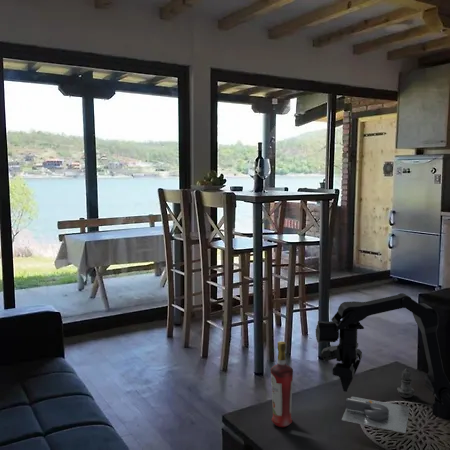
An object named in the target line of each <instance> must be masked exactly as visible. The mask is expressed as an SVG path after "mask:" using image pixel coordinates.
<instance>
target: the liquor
mask: <svg viewBox="0 0 450 450" xmlns="http://www.w3.org/2000/svg"><path fill="white" fill-rule="evenodd" d="M286 344H287V342H285V341H283V340H282V341H281V340H280V341H277V351H278V352H277V361H276V364H274V365H273V366H272V367H270V383H271V385H270V387H271V400H272V401H271V402H272V417H271V422H272V423H273V424H274V425H275V426H276V427H277V428H287V427H289V425H290V424H292V423H293V418H292V399H293V397H292V396H293V380H294V375H293V374H294V369H293V368H292V367H291V366H290V365H288V364H287V360H286V347H287V345H286Z"/></svg>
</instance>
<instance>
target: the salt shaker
mask: <svg viewBox="0 0 450 450" xmlns="http://www.w3.org/2000/svg"><path fill="white" fill-rule="evenodd" d="M400 381H401V385H400V386H398V387H397V391H398V394H399V396H400V397H402V398H406V399H410V398H412V397H413V395H414V393H415V389H414V388H413V387H411V382H412V379H411V371H410V370H409V369H408V368H407V367H406V368H405V369H403V370H402V371H401V378H400Z"/></svg>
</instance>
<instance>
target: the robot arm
mask: <svg viewBox="0 0 450 450" xmlns="http://www.w3.org/2000/svg"><path fill="white" fill-rule="evenodd" d="M401 309H406V310H408V311H409V312H411V313H412V316H413V318H414V321H415V323H416V325H417V327H418V329H419V330H420V332H421V337H422V338H421V339H422V343H423V348H424V353H425V358H426V362H427V367H428V371H427V374H424V375H423V379H424V386H425V387H426V388H427V389H428V391H430V392H431V393H432V395H433V397H435V398H434V400H433V401H432V415H434V416H436V417H438V418H441V419H444V420H450V380H449V379H448V376H447V375H446V373H445V370H444V366H443V361H442V357H441V350H440V345H439V340H438V335H437V334H438V333H437V330H438V327H439V313H438V312H437V311H436V309H434V308H432V307H431V306H429V305H428V304H426V303H423V302H417V301H415V300H414V299H412V298H411V296H409V295H407V294H406V293H398V294H395V295H391V296H386V297H381V298H377V299H372V300H368V301H353V300H352V301H344V302H342V303H340V305H339V306H338V308H337V311H336V313H335V314H334V315H333V316H332V317H331V321H323V320H318V321H317V325H316V327H315V337H316V338H315V339H316V342H317V343H336V342H338V344H337V345H332V346H328V347H324V348H323V349H322V350H321V352H320V353H321V357H320V358H321V359H323V362H329V361H331V360H336V362H337V363H335V364H334V366H333V367H332V375H333V376H336V377H338V378H339V380H340V384H341V386H342V392H344V393H346V392H348V390H349V388H350V385H351V383H352V381H353V379H354V377H355V374H356V372H357V370H358V368H359V366H360V364H361V361H362V358H363V352H362V350H361V349H359V348H358V347H359V342H358V330H364V329H365V327H364V325H362V323H361V321H363V320H365V319H366V318H368V317H370V316H373V315H377V314H383V313H386V312H391V311H396V310H401Z"/></svg>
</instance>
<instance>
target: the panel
mask: <svg viewBox="0 0 450 450" xmlns="http://www.w3.org/2000/svg"><path fill="white" fill-rule="evenodd" d="M350 399H355V400H361V401H366V402H371V403H376V404H381V405H383V406H385V407H387V408H388V410H389V417H388V419H386V420H383V421H375V420H371V419H369V418H367V417H366V416H365V415H364V412H361V411H356V410H351V409H346V408H345V411H344V413H343V415H342V418H341V421H343V422H349V423H354V424H359V425H364V426H369V427H372V428H373V427H374V428H379V429H383V430H388V431H392V432H393V431H394V432H397V433H402V434H403V433H404V434H407V426H408V422H409V421H408V420H409V415H410V409H411V407H410V406H406V405H401V404H397V403H396V404H395V403H390V402H384V401H378V400H373V399H367V398H362V397H357V396H351V397H350Z"/></svg>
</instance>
